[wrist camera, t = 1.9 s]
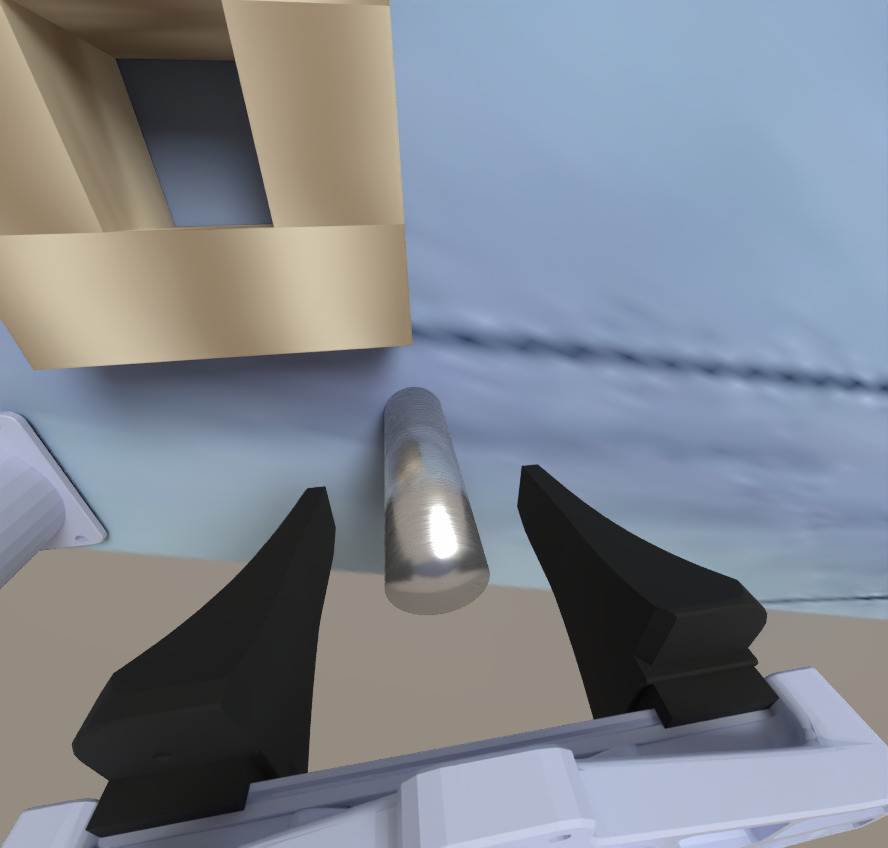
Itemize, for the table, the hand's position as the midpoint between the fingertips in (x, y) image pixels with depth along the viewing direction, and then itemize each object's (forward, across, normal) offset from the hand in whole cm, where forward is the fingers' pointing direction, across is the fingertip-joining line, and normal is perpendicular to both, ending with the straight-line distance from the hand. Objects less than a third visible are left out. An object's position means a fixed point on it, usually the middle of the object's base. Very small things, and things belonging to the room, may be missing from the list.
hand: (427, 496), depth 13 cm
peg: (+6, 0, 0) cm, 6 cm away
